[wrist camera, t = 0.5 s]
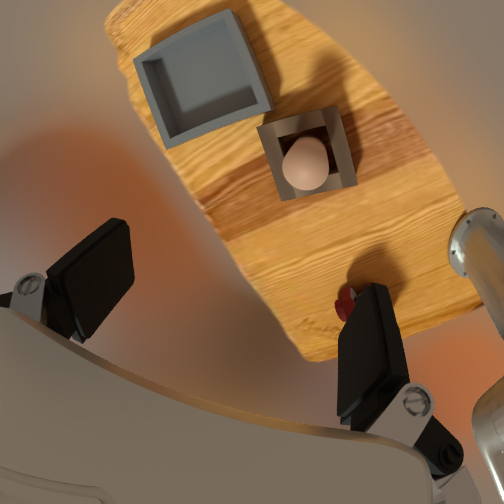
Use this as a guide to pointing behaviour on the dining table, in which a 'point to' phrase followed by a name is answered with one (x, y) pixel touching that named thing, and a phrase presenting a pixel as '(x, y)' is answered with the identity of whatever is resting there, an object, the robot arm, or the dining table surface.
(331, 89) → the dining table surface
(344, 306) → the red toy race car
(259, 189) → the dining table surface
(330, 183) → the collar block
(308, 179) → the dowel
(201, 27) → the tray
